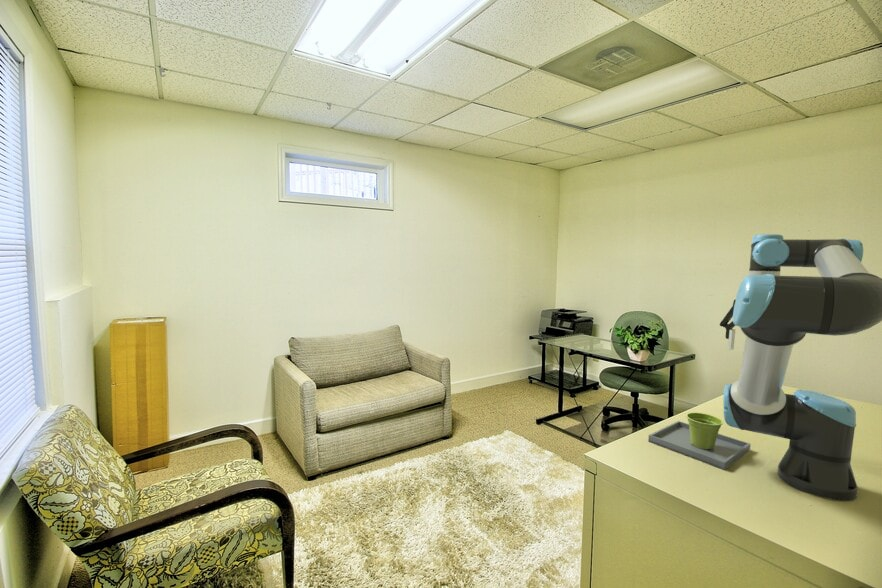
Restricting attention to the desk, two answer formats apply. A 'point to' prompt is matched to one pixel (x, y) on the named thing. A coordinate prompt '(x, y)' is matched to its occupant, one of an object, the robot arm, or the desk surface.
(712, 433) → the plant pot
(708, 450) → the tray
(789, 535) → the desk surface
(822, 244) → the robot arm
